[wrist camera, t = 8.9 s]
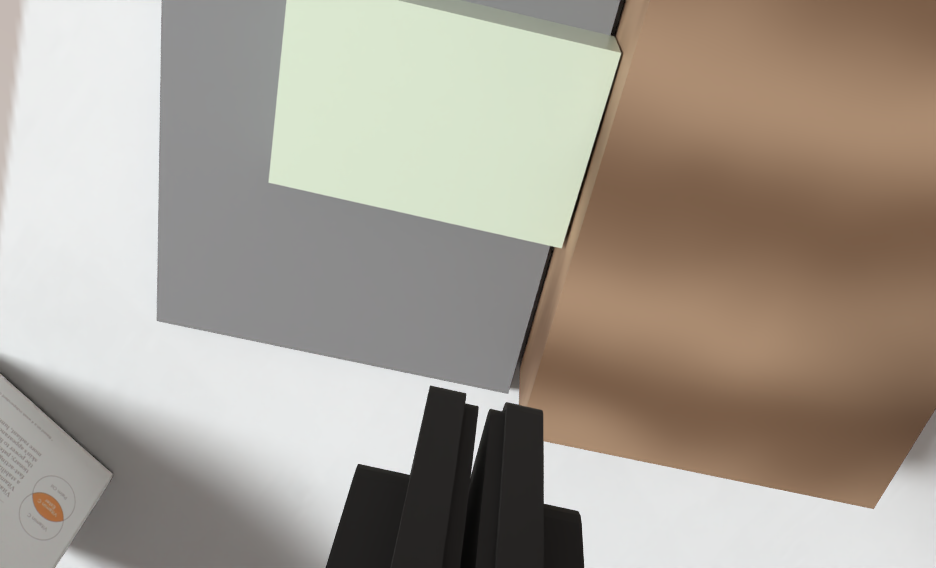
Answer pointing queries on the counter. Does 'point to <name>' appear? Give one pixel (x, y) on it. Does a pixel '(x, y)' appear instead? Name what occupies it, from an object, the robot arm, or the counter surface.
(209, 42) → the mat
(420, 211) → the tile
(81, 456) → the small box
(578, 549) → the robot arm
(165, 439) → the counter surface
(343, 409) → the counter surface
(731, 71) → the board
